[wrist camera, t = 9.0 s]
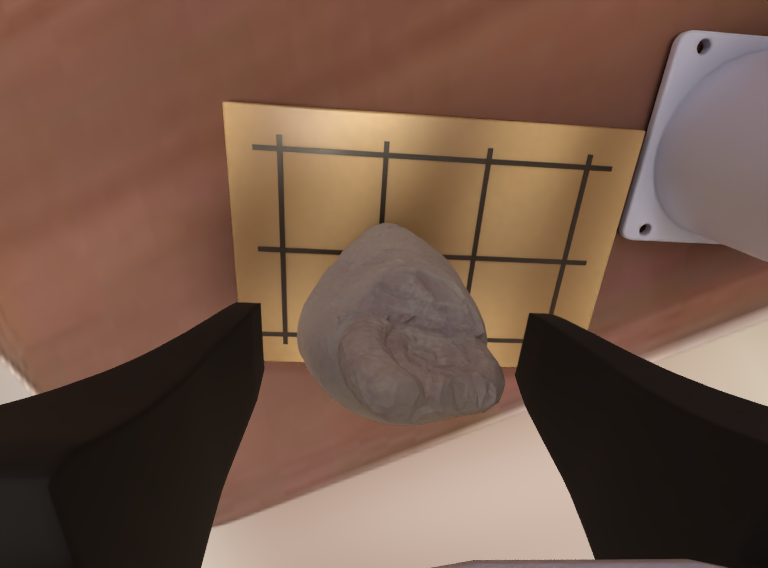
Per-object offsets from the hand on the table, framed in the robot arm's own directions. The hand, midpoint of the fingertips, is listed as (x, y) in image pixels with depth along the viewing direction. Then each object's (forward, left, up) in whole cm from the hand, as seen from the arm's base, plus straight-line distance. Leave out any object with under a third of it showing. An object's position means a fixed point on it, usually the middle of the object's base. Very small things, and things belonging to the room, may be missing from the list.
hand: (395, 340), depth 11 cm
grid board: (-2, 0, -8) cm, 8 cm away
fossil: (0, 0, -7) cm, 7 cm away
